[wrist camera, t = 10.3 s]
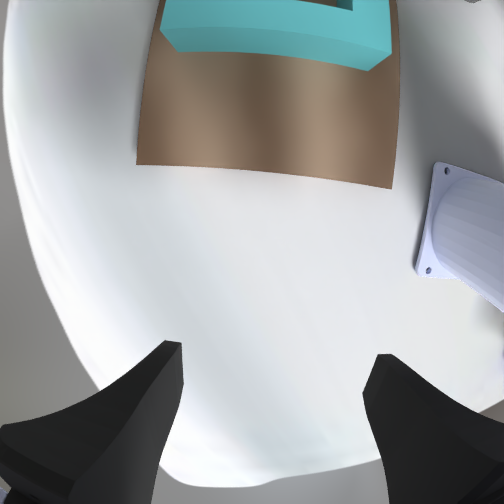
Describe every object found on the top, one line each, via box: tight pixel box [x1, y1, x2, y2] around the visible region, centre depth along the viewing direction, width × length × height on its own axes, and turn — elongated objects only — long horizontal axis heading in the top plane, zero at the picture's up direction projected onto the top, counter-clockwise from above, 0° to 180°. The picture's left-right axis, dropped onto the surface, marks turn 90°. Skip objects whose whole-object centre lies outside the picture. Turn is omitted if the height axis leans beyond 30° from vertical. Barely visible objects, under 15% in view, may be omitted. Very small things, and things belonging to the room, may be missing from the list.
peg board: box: [136, 0, 400, 190], centre depth 11 cm, size 15×19×6 cm
